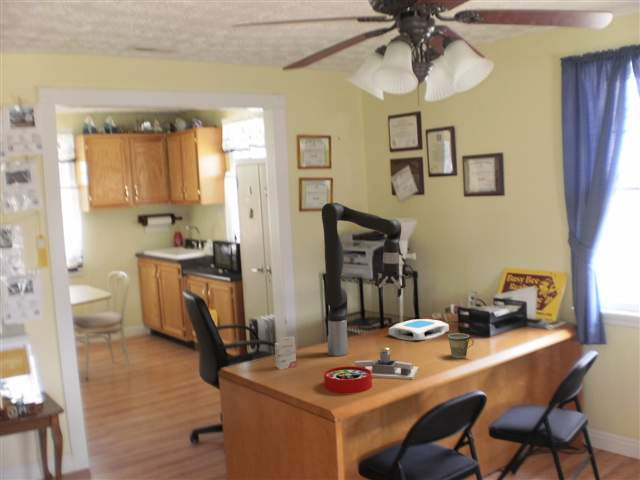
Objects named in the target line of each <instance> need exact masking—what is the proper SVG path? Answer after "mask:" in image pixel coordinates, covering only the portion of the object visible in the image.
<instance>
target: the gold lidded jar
mask: <svg viewBox="0 0 640 480" xmlns="http://www.w3.org/2000/svg"><path fill="white" fill-rule="evenodd" d="M379 356H380V357H379V359H380V365H390V360H391V347H389V346H381V347H380V348H379Z"/></svg>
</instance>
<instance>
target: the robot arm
mask: <svg viewBox="0 0 640 480" xmlns="http://www.w3.org/2000/svg"><path fill="white" fill-rule="evenodd" d="M321 220H322V227H323V236H324V237H323V238H324V239H323V242H324V243H323V244H324V264H325V277H326V283H325V301H326V304H327V305H328V306H329V310H328V313H327V329H328V332H327V333H328V335H327V338H326V339H327V355H330V356H333V357H337V356H338V357H340V356H341V357H342V356H347V355H348V350H349V349H348V327H347V324H348V322H347V315H348V294H347V291H346V290H345V289H344V288H343V287H342V281H341V280H342V272H343V268H344V257H345V256H344V247H343V244H342V241H341V238H340V236H339V232H338V231H339V230H338V221H340V222H341V221H342V222H349V223H353V224H356V225H357V226H359V227H362V228H365V229H368V230H371V231H376V232H378V233H381V234H384V235H386V240H384V241H383V255H382V273H379V272H377V273H376V274H375V279H374V280H375V281H374V286H375V287H378V294H379V296H383V292H384V291H383V286H384V285H385V284H393V285H394V284H395V286H396V287H397V297H398V298H400V297H401V296H402V290H403V289H405V288H406V283H407V282H406V279H407V278H406V274H399V273H400V272H399V271H400V251H399V250H400V240H401V235H402V223H401V222H400V221H399V220H398V219H395V218H394V219H387V218H383V217H381V216H379V215H376V214H372V213H368V212H364V211H359V210H356V209H352V208H350V207H348V206H345V205H343V204H342V203H340V202H339V203H338V202H329V203H326V204H324V205H323V206H322V209H321ZM381 278H382V281H381V282H380V279H381ZM399 279H400V280H401V283H400V281H399Z"/></svg>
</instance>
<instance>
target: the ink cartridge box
mask: <svg viewBox="0 0 640 480" xmlns="http://www.w3.org/2000/svg"><path fill="white" fill-rule="evenodd" d="M274 352H275V353H274V354H275V357H274V358H275V368H276V367H277V369H279V370H284V369H285V368H286V369H291V368H296V367H297V355H296V341H295V336H294V335H293V336H292V335H291V336H285V337H284V336H283V337H279V338H278V342H274Z"/></svg>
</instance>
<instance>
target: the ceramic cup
mask: <svg viewBox="0 0 640 480" xmlns="http://www.w3.org/2000/svg"><path fill="white" fill-rule="evenodd" d="M447 338H448V344H449V350H450V353H451V357H452V358H456V359H463V358H466V357H467V353H468V349H469V348H470V347H471V346H473V344H474V340H473V339H472V338H470V335H469V334H466V333H450V334H448V336H447ZM469 341H471V342H472V343H471V344H470V345H469Z"/></svg>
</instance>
